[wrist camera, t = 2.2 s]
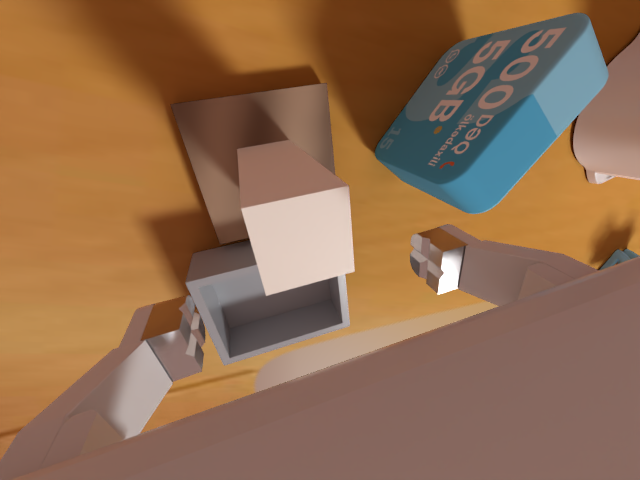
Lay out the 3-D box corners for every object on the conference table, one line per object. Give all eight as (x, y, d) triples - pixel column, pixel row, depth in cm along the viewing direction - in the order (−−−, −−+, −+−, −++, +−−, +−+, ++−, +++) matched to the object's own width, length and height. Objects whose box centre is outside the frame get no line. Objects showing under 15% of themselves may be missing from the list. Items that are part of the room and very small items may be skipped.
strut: (289, 139, 23) (348, 185, 11) (297, 189, 25) (354, 271, 13) (237, 148, 22) (240, 208, 10) (250, 198, 24) (266, 295, 12)
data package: (450, 42, 24) (606, 2, 14) (475, 77, 27) (625, 65, 16) (368, 154, 27) (449, 189, 17) (396, 178, 29) (483, 222, 19)
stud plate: (321, 83, 23) (336, 81, 20) (334, 211, 29) (347, 226, 26) (174, 103, 21) (162, 104, 17) (220, 237, 27) (218, 257, 23)
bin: (326, 221, 29) (342, 243, 25) (335, 298, 35) (349, 325, 30) (192, 253, 27) (185, 282, 23) (225, 330, 32) (224, 365, 28)
